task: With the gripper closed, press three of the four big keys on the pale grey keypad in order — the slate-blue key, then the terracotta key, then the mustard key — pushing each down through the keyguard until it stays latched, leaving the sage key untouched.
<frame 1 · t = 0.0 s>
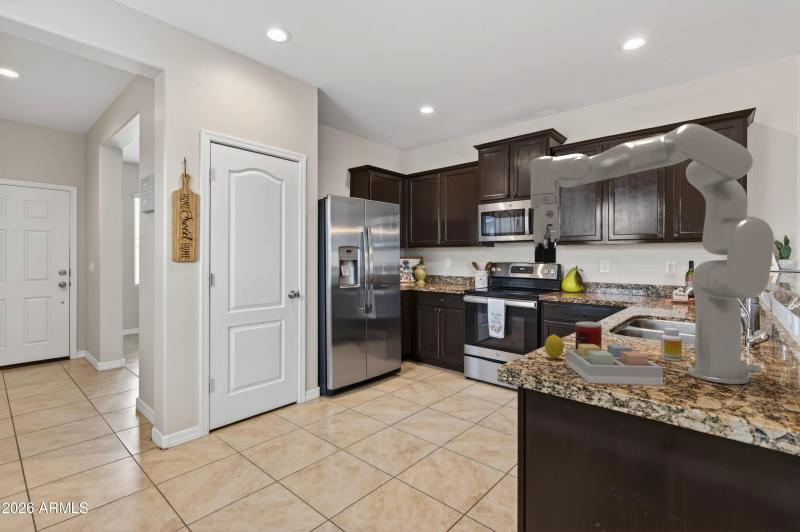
hand: (544, 263, 108), 31 cm above the countertop, tool pointing down, fingers open, 9 cm apart
key terracotta: (633, 359, 103), point 5 cm above the countertop, slide at 0.0 cm
supplement bottle: (671, 359, 122), on the countertop
key slate: (619, 351, 111), point 5 cm above the countertop, slide at 0.0 cm
lemon: (554, 359, 123), on the countertop
canned food: (588, 357, 126), on the countertop
key sage: (600, 358, 103), point 5 cm above the countertop, slide at 0.0 cm
keypad: (610, 373, 107), on the countertop
key mustard: (588, 351, 112), point 5 cm above the countertop, slide at 0.0 cm
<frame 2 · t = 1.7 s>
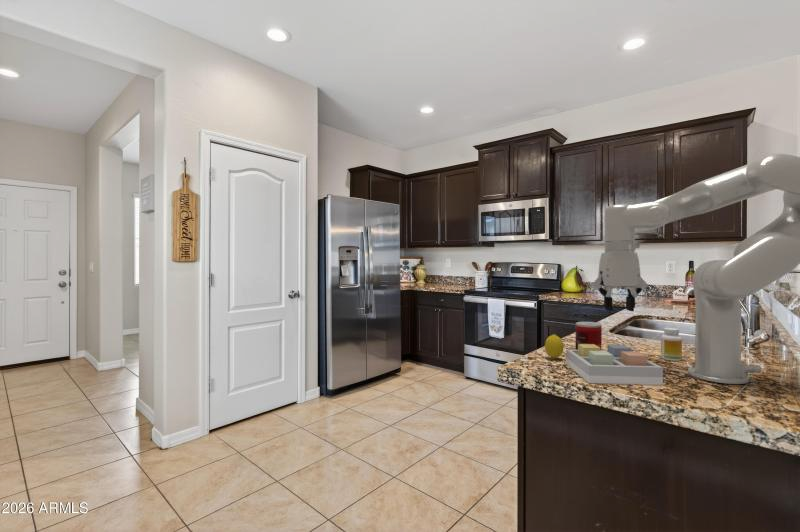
hand: (619, 309, 111), 17 cm above the countertop, tool pointing down, fingers open, 5 cm apart
nothing on the countertop moved.
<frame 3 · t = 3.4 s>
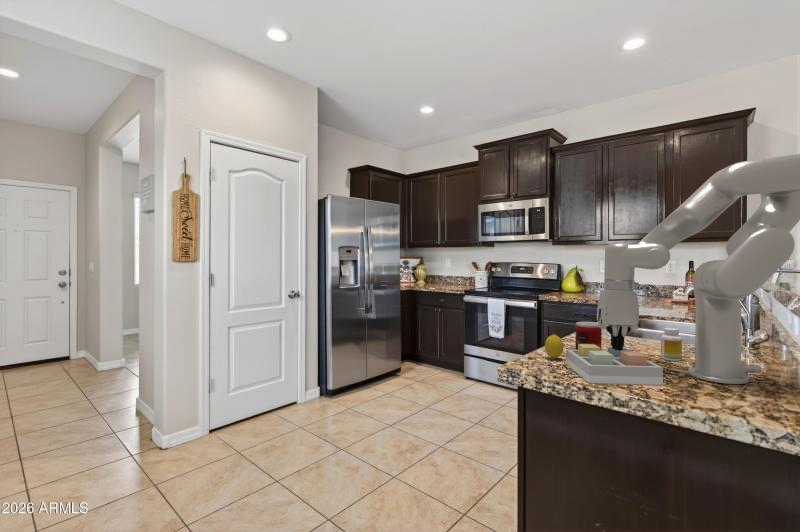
hand: (617, 349, 111), 6 cm above the countertop, tool pointing down, fingers closed
key slate: (619, 354, 111), point 4 cm above the countertop, slide at 0.9 cm, touching gripper
everything else where it was.
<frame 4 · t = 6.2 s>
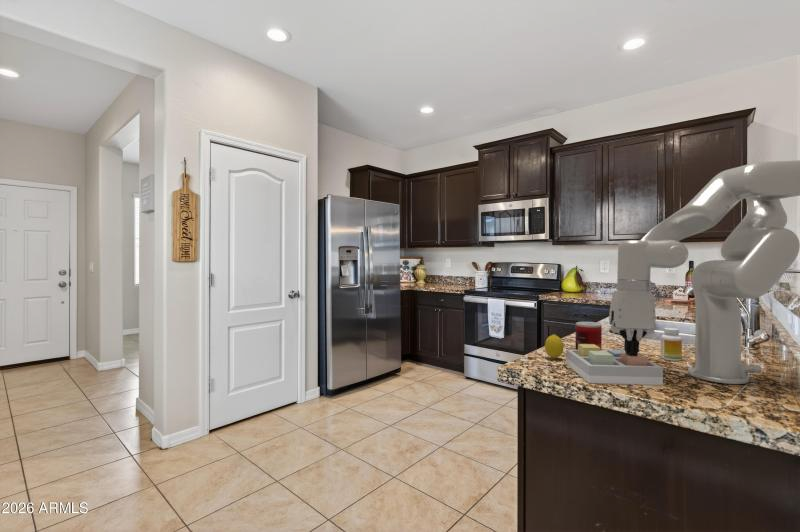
hand: (631, 354, 103), 7 cm above the countertop, tool pointing down, fingers closed
key terracotta: (633, 360, 103), point 5 cm above the countertop, slide at 0.4 cm, touching gripper
key slate: (619, 356, 111), point 4 cm above the countertop, slide at 1.6 cm
everything else where it was.
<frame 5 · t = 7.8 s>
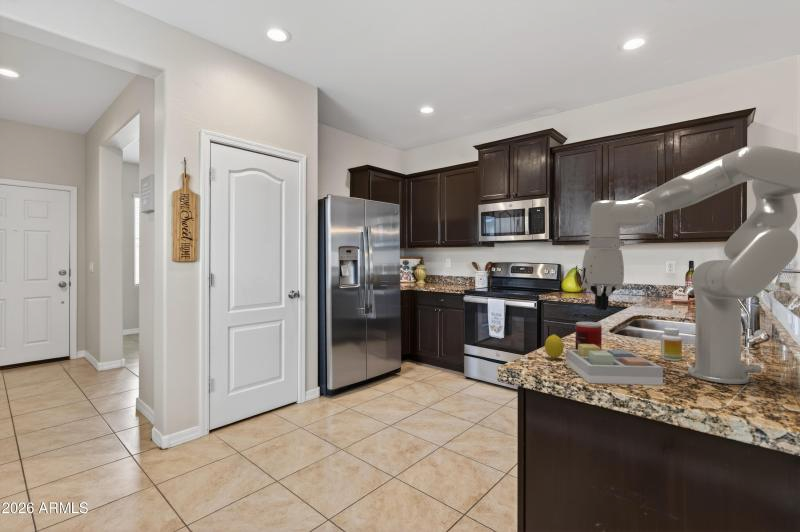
hand: (601, 309, 108), 18 cm above the countertop, tool pointing down, fingers closed
key terracotta: (633, 364, 103), point 4 cm above the countertop, slide at 1.6 cm
everything else where it was.
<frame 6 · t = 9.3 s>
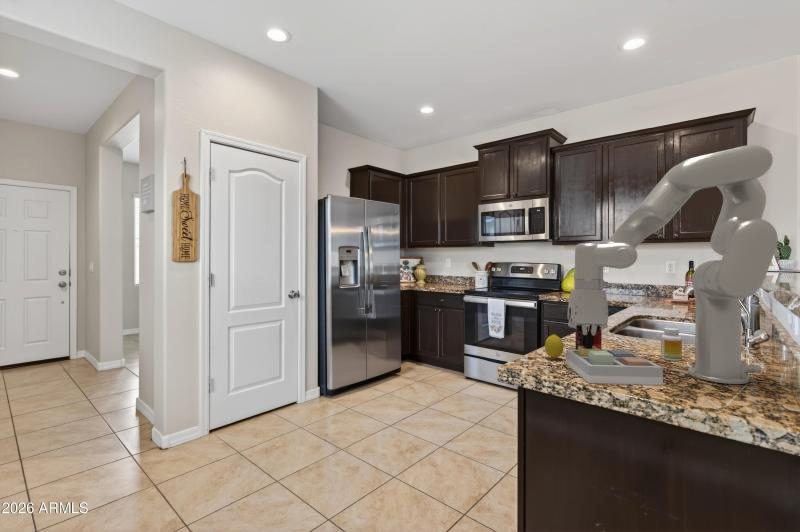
hand: (587, 347, 112), 6 cm above the countertop, tool pointing down, fingers closed
key mustard: (588, 353, 112), point 5 cm above the countertop, slide at 0.6 cm, touching gripper
everything else where it was.
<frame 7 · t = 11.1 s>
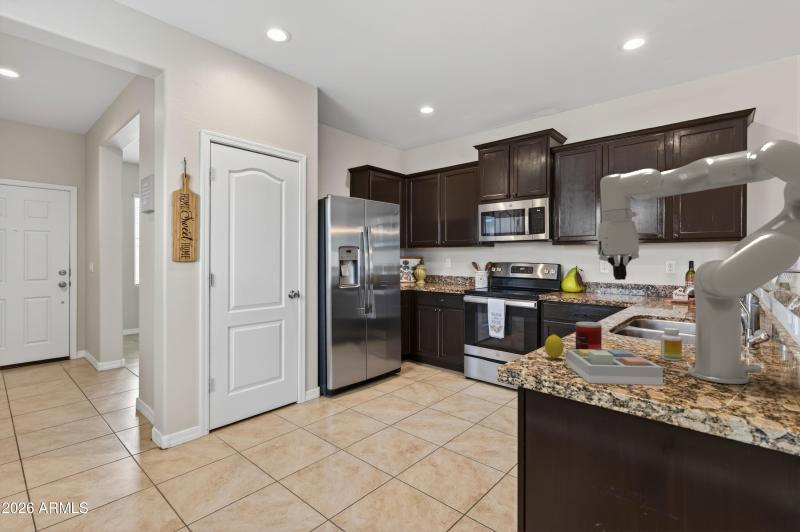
hand: (620, 279, 112), 26 cm above the countertop, tool pointing down, fingers closed
key mustard: (588, 356, 112), point 4 cm above the countertop, slide at 1.6 cm
everything else where it was.
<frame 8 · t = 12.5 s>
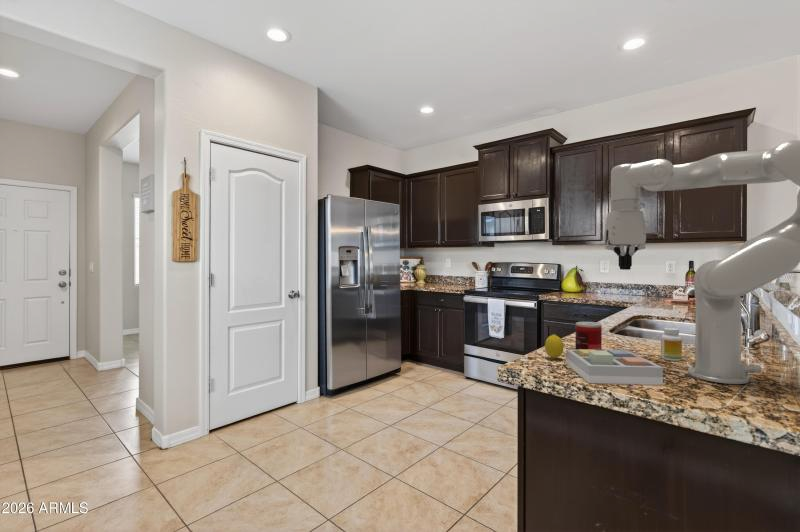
hand: (625, 269, 113), 29 cm above the countertop, tool pointing down, fingers closed
nothing on the countertop moved.
at the end: key slate slide at 1.6 cm; key terracotta slide at 1.6 cm; key mustard slide at 1.6 cm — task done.
